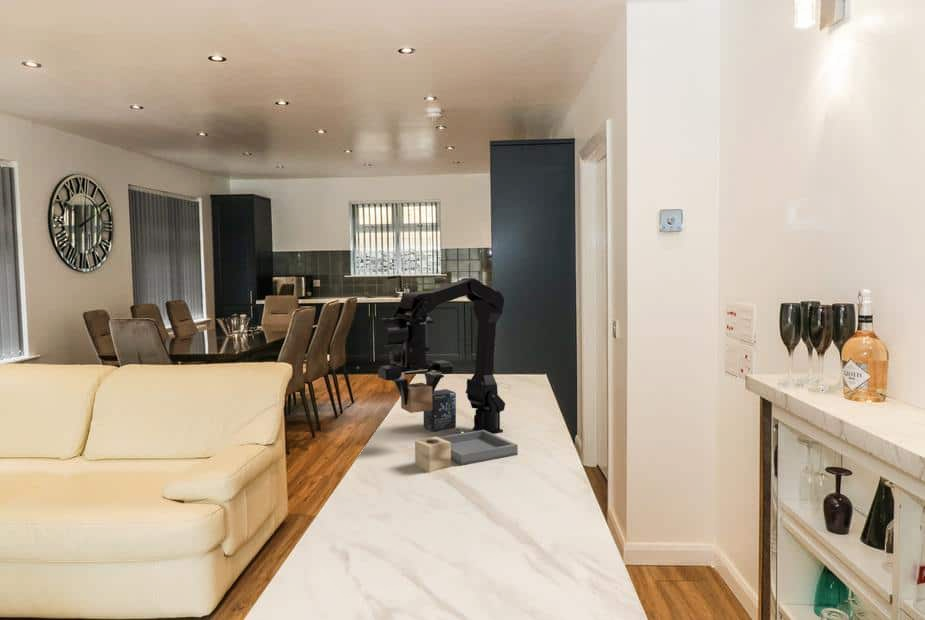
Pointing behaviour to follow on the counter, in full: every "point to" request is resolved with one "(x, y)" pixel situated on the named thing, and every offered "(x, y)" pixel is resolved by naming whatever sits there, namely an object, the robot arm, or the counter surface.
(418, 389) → the block
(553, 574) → the counter surface
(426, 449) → the block
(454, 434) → the rod
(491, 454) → the tray
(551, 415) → the counter surface
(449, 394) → the box
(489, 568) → the counter surface
